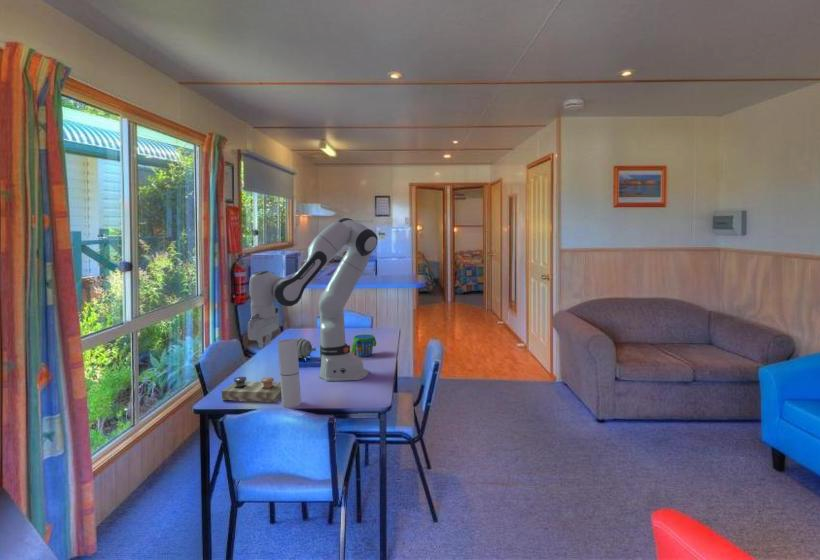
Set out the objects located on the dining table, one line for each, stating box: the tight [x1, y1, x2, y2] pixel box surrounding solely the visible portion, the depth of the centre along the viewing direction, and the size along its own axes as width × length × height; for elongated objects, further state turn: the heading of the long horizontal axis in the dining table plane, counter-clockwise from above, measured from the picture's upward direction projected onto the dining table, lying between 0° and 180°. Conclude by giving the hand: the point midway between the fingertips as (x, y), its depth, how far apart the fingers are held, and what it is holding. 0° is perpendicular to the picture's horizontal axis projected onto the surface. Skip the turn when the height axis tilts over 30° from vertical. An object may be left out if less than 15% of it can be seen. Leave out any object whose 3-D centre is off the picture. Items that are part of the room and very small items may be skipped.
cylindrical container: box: [277, 338, 302, 408], centre depth 196 cm, size 7×7×25 cm
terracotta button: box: [260, 377, 275, 389], centre depth 206 cm, size 5×5×4 cm
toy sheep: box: [295, 338, 317, 359], centre depth 259 cm, size 11×17×11 cm, turn 76°
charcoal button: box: [233, 376, 247, 388], centre depth 208 cm, size 5×5×4 cm
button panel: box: [221, 381, 282, 403], centre depth 207 cm, size 22×12×4 cm, turn 79°
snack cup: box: [351, 333, 377, 358], centre depth 263 cm, size 16×10×10 cm
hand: (265, 345), depth 204 cm, fingers open, 4 cm apart
